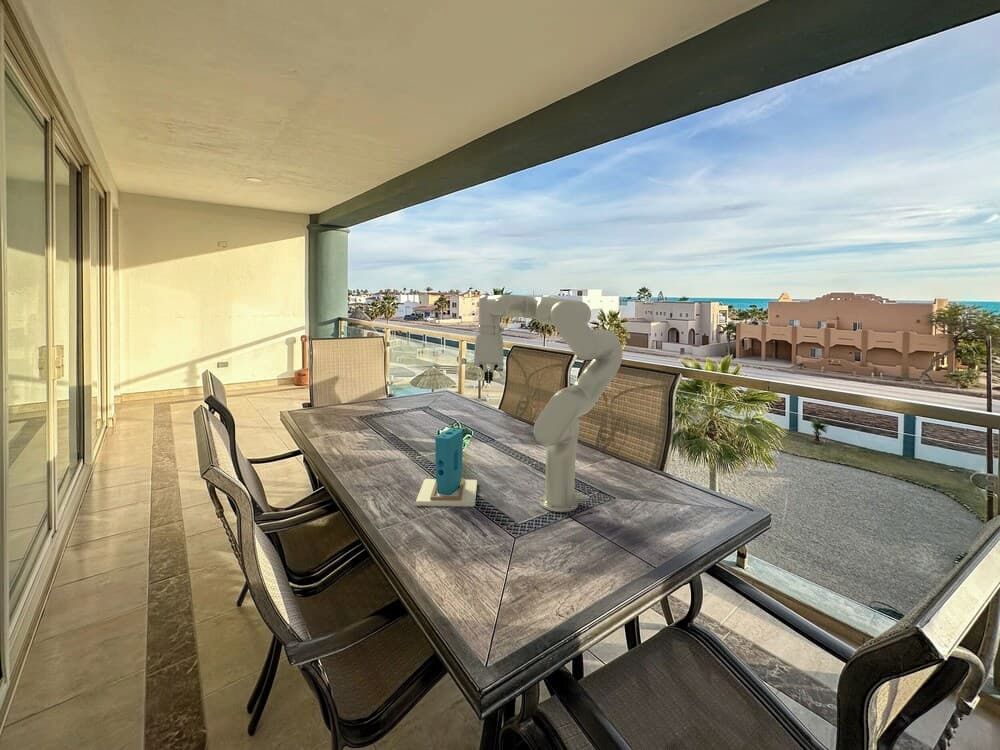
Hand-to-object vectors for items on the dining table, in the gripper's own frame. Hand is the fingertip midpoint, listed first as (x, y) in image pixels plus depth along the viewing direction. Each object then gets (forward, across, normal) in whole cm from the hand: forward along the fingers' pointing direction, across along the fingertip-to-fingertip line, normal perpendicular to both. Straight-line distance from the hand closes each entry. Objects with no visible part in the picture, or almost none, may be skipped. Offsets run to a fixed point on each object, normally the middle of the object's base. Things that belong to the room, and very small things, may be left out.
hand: (488, 382), depth 163 cm
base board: (+37, +13, +11) cm, 41 cm away
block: (+36, +13, +11) cm, 40 cm away
